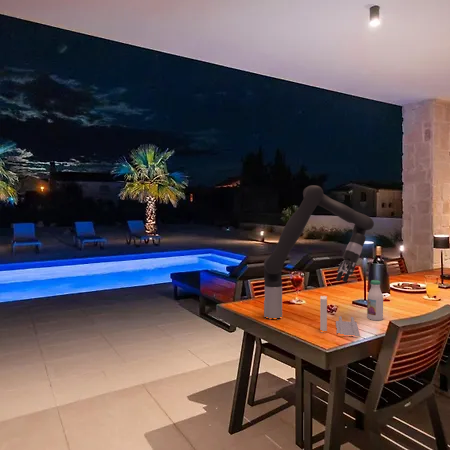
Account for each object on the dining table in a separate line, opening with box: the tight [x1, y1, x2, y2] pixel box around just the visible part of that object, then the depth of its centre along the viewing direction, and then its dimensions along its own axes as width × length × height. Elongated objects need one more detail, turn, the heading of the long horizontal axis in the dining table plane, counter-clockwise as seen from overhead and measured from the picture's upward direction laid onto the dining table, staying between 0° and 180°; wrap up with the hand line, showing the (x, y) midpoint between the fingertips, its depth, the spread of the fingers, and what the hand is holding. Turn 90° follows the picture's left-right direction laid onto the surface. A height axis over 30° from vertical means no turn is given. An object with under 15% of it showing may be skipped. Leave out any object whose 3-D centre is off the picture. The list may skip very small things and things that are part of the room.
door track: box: [335, 315, 361, 337], centre depth 192 cm, size 10×20×4 cm, turn 166°
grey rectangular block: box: [319, 295, 328, 332], centre depth 191 cm, size 3×6×16 cm, turn 166°
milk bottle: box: [366, 279, 384, 321], centre depth 208 cm, size 8×8×20 cm
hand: (340, 281), depth 205 cm, fingers open, 8 cm apart
